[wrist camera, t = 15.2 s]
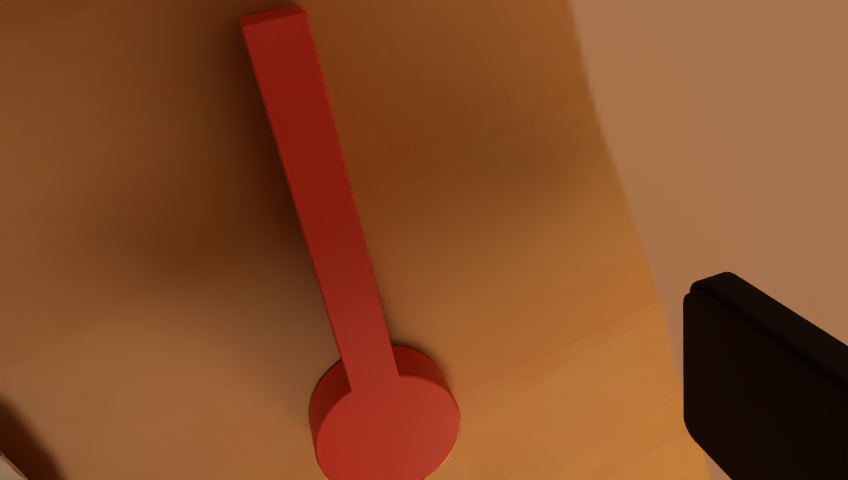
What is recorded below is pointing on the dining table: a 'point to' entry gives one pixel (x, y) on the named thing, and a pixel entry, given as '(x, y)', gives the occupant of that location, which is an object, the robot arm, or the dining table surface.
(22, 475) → the stone
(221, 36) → the dining table surface
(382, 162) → the dining table surface
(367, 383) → the red spoon
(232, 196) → the dining table surface
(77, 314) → the dining table surface
